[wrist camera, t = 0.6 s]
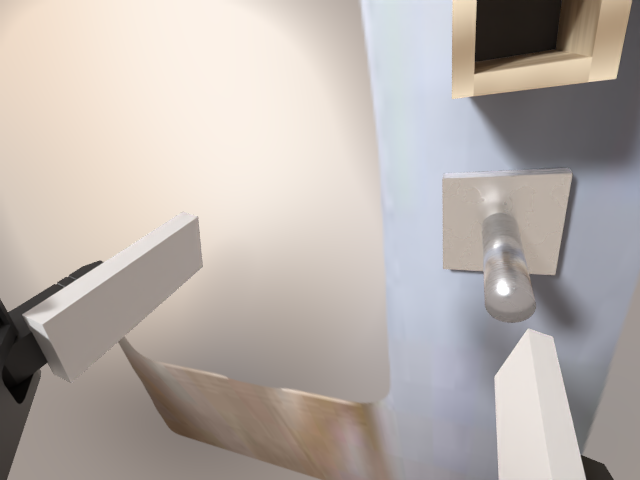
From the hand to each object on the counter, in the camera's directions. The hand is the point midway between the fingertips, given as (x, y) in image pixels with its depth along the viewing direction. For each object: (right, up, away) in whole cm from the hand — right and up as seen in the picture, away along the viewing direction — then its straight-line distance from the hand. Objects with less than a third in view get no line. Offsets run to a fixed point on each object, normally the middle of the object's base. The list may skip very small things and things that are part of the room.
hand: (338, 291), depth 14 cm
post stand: (+17, +4, +20) cm, 26 cm away
